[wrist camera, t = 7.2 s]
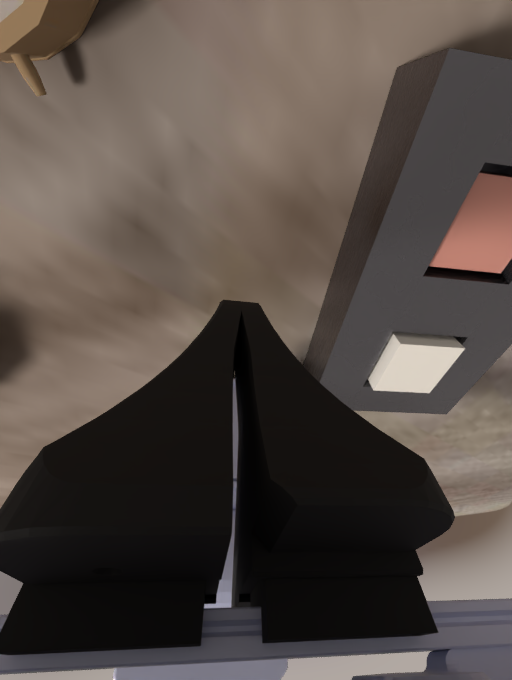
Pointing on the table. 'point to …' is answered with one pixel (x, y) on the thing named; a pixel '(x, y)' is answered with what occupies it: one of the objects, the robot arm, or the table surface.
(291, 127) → the table surface
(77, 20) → the alarm clock
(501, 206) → the red key
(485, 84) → the grey flat block
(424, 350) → the cream key
